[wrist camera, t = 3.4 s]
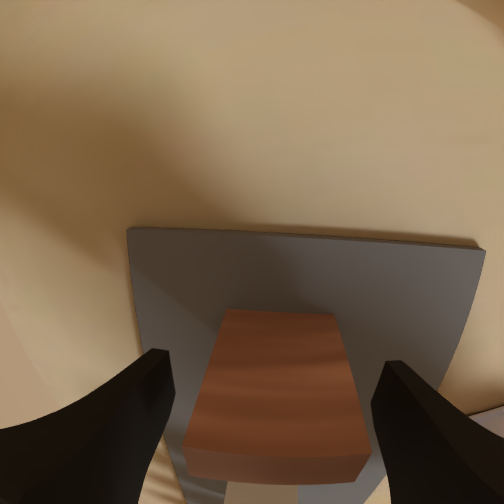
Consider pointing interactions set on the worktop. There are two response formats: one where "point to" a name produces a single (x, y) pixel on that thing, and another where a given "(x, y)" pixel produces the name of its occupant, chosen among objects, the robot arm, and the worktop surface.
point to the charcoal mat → (299, 301)
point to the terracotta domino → (277, 404)
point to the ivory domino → (260, 493)
